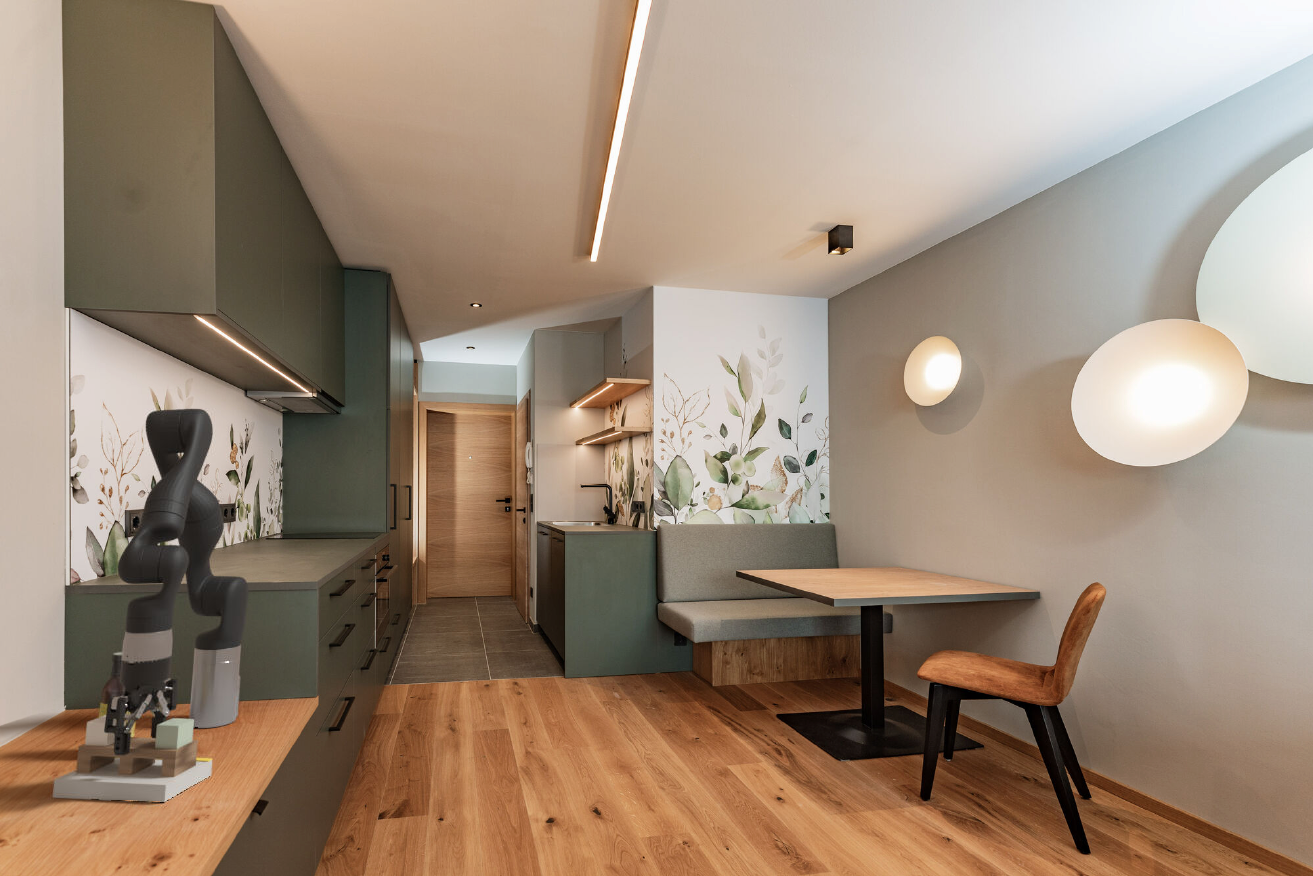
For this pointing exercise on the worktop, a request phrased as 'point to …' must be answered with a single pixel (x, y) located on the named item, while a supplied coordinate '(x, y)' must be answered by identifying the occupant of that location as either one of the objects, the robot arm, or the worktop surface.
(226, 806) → the worktop surface
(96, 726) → the white crate
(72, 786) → the block
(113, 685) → the sauce bottle
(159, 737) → the block
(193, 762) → the pallet
